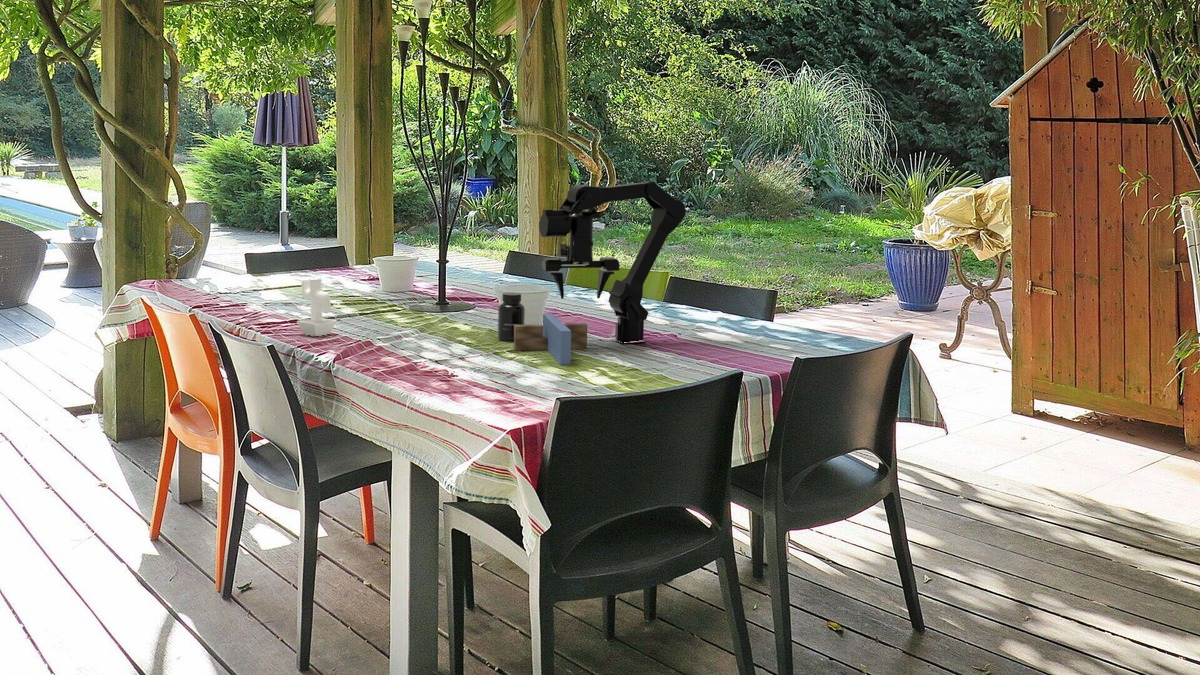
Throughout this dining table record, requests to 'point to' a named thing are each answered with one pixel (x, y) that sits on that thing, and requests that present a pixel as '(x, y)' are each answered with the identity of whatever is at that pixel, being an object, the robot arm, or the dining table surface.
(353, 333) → the dining table surface
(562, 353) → the slate blue tapered plate
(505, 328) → the supplement bottle
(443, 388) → the dining table surface
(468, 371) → the dining table surface
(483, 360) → the dining table surface
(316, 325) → the figurine
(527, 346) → the walnut slotted board
